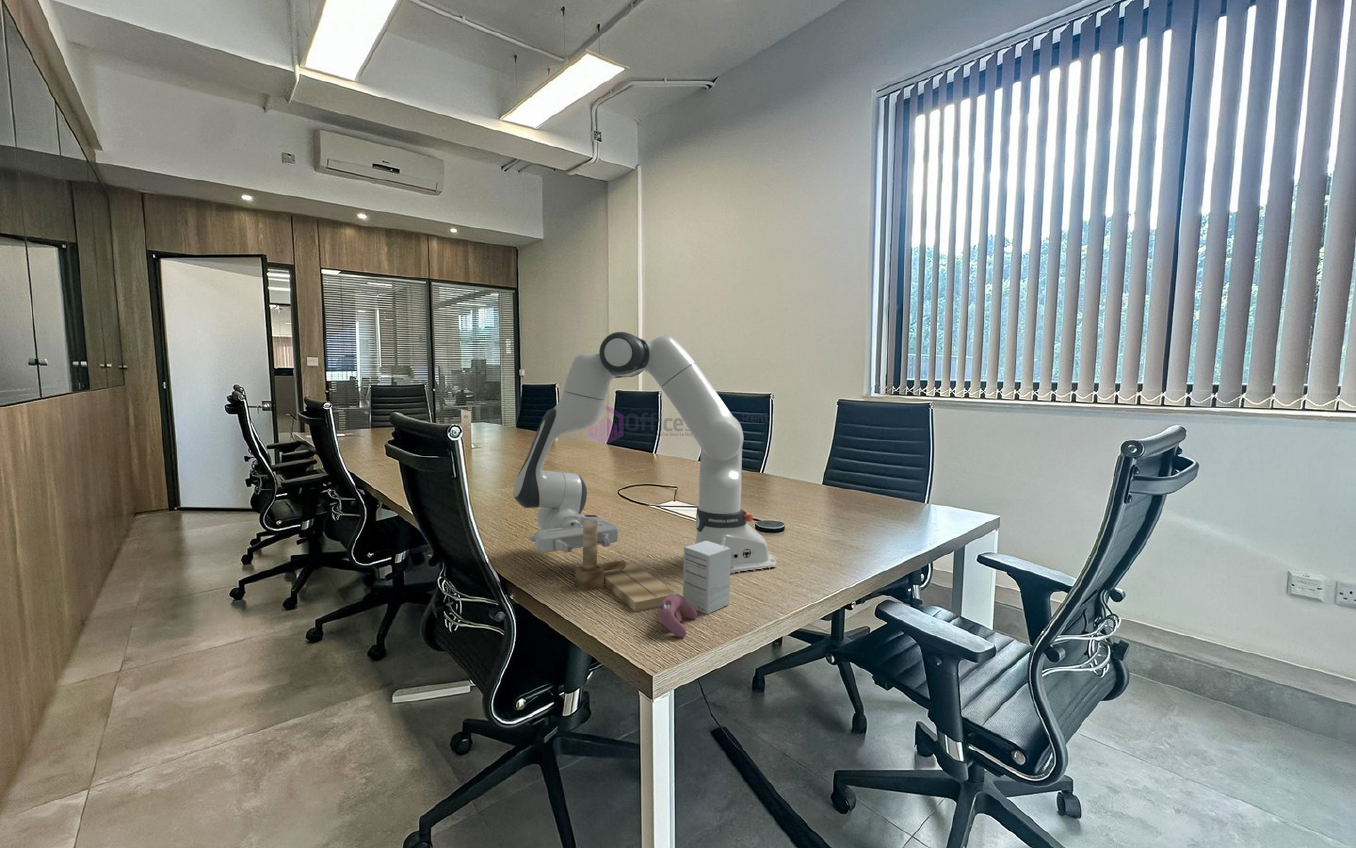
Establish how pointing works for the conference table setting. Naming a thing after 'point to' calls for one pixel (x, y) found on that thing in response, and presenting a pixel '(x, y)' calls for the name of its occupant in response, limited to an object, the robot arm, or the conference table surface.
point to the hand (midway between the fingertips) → (588, 546)
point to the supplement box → (706, 576)
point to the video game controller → (675, 613)
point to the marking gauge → (592, 561)
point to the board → (636, 587)
